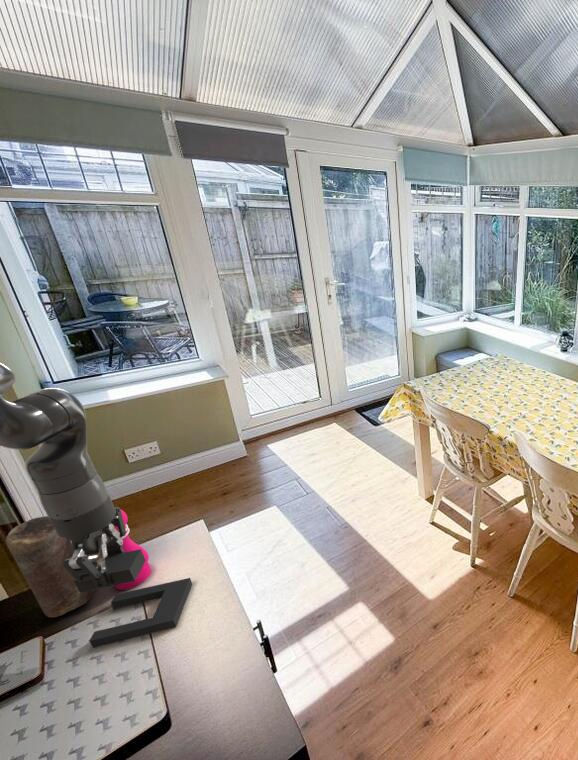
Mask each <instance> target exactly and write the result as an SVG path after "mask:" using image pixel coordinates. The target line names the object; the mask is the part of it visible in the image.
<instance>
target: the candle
mask: <svg viewBox="0 0 578 760" xmlns="http://www.w3.org/2000/svg"><path fill="white" fill-rule="evenodd" d="M5 543H6V546H7V548H8V550H9V552H10V553H11V555H12V557H13V559H14V560H15V562H16V564H17V566H18V567H19V570H20V571H21V573H22V575H23V577H24V579H25V580H26V582H27V584H28V586H29V588H30V590H31V592H32V594H33V596H34V598H35V599H36V601H37V603H38V605H39V607H40V609H41V611H42V612H43V614H44V615H45V616H46V617H47V618H58V617H60V616H63V615H65V614H66V613H68V612H71V611H74V610H76V609H78V608H80V607H82V606H83V605H85V604H86V603H87V602H88V601H89V600H90V599H91V596H92V595H93V593H94V590H90V591H86V592H81V593H80V592H79V590H78V588H77V586H76V584H75V582H74V580H75V578H74V577H73V576H72V575H71V574H70V573H69V572H68V571H67V570H66V569H65V568H64V567H63V562H64V560H67V559H71V558H72V556H73V554H74V551H73V549H72V542H71V540H69V539H66V538H63V537H60V536H59V535H58V534H57V532H56V531H55V529H54V527H53V525H52V523H51V521H50V519H49V517H48V516H47V515H46V516H40V517H39V516H37V517H34V518H31V519H29V520H26V521H24V522H23V523H20V524H18V525H16V526H15V527H14V528H12V529H11V530H10V531H9V532H8V534H7V535H6V537H5Z"/></svg>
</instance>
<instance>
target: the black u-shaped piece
mask: <svg viewBox="0 0 578 760" xmlns="http://www.w3.org/2000/svg"><path fill="white" fill-rule="evenodd" d="M192 587H193V581H192V580H191V577H187V578H181V579H178V580H173V581H169V582H164V583H160V584H156V585H151V586H147V587H142V588H138V589H133V590H128V591H124V592H120V593H115V594H114V596H113V598H112V599H111V601H110V604H111V605H112V607H113V609H114V610H115V609H116V610H117V609H121V608H125V607H130V606H134V605H138V604H143V603H146V602H147V603H148V602H150V601H155V600H159V602H158V604H157V607H156V609H155V611H154V613H153V615H152V617H150V618H145V619H140V620H137V621H132V622H128V623H124V624H120V625H116V626H112V627H108V628H104V629H100V630H95V631H94V632H93V633H92V635H91V637H90V639H89V641H88V642H89V644H90V645H91V647H92V648H93V649H96V648H99V647H103V646H107V645H111V644H115V643H119V642H123V641H127V640H130V639H134V638H138V637H139V638H140V637H143V636H146V635H150V634H154V633H158V632H162V631H166V630H171V629H174V628H177V626H178V623H179V621H180V619H181V615H182V613H183V610H184V608H185V605H186V602H187V600H188V597H189V594H190V592H191V589H192Z"/></svg>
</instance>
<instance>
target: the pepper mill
mask: <svg viewBox="0 0 578 760" xmlns="http://www.w3.org/2000/svg"><path fill="white" fill-rule="evenodd" d="M121 513H122V517H123V521H124V525H125V529H126V535H125V536H122V540H123V544H122V547H123V549H124V551H125V552H129V551H134V550H140V549H141V551H142V553H143V555H144V558H145V560H146V561H145V563H144V565H143V567H142V568H141V570H140V572H139V574H138V576H137V578H136V580H135V581H132V582H128V583H123V584H118V585H114V586H113V587H114V588H115V589H117V590H119V591H120V590H121V591H125V590H130V589H133V588H135V587H137V586H139V585H141V584H143V583H144V582H145V581H146V580H148V578H149V577H150V575H151V573H152V567H151V565H150V563H149V560H150V556H149V553H148V551H147V550H146V548H144V547H143V546H142V545H139V544H138V543H135V541H133V540H131V538H130V536H129V533H130V531H131V530H130V528H129V525H128V515H127V513H126V512H125V511H124V510H123V509H121ZM114 528H115V529H116V530H117V531H119V530H118V527H117V526H115V527H114Z"/></svg>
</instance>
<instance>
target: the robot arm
mask: <svg viewBox="0 0 578 760" xmlns="http://www.w3.org/2000/svg"><path fill="white" fill-rule="evenodd" d="M15 382H16V375H15V373H14V372H13V371H12V370H11V369H10V368H9V367H8V366H6V365H5V364H3V363H1V362H0V447H3V448H6V449H9V450H19V451H21V450H22V451H24V450H29V449H32V448H35V447H37V446H39V445H40V446H39V447H38V448H37V449H36V451H34V453H32V454H31V455H30V456H29V457H28V458H27V459H26V461H25V464H24V466H25V470H26V473H27V475H28V477H29V479H30V480H31V483H32V484H33V486H34V488H35V490H36V491H37V495H38V498H39V501H40V504H41V506H42V509H43V511H44V513H46V516H48V517H49V519H50V521H51V523H52V525H53V527H54V529H55V531H56V532H57V534H58V535H59V536H60V537H63V538H66V539H69V540H70V541H71V543H72V549H73V551H74V554H73V556H72V558H71V559H67V560H64V562H63V567H64V568H65V569H66V570H67V571H68V572H69V573H70V574H71V575H72V576H73V577H74V578H75V579H76V580H77V581H78V582H82V581H86V580H91V579H92V581H93V583H94V585H95V587H96V588H97V589H96V590H102V589H105V588H110V587H113V586H112V584H113V580H112V578H111V576H110V573H109V571H108V569H106V563H105V558H106V557H107V556H109V555H114V554H119V553H124V552H125V551H124V549H123V547H122V544H123V540H122V536H125V535H126V529H125V525H124V521H123V517H122V513H121V510H122V509H121V507H120V506H117V507H115V505H114V503H113V500H112V498H111V497H110V494H109V491H108V489H107V487H106V485H105V483H104V481H103V479H102V477H100V475H99V474H98V471H97V470H96V468H95V465H94V463H93V461H92V459H91V456H90V455H89V452H88V424H87V423H88V421H87V414H86V411H85V408H84V406H83V404H82V402H81V401H80V399H78V398H77V397H76V396H75V395H73V394H72V393H71V392H69V391H67V390H65V389H61V388H58V387H57V388H56V387H49V388H42V389H39V390H37V391H34V392H32V393H30V394H27V395H24V396H23V397H21V398H18V399H15V400H13V401H11V402H10V401H7V400H6V399H5V398H3V397H2V395H3V394H4V393H6V392H7V391H8V390H9V389H10V388H11V387H12V386H13V385H14V384H15ZM115 526H117V527H118V530H119V531H117V530H116V529H115V528H114V527H115ZM93 562H97V563H98V567H95V566H94V565H93V564H92V563H93Z"/></svg>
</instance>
